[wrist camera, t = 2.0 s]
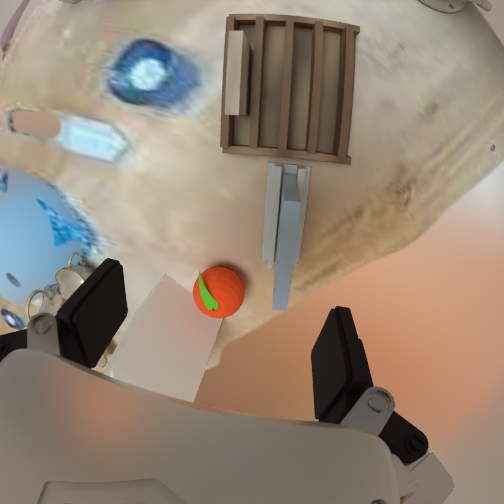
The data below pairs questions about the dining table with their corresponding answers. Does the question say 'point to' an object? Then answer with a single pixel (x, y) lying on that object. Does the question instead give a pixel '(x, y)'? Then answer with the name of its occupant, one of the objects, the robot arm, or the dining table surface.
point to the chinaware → (63, 292)
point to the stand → (273, 207)
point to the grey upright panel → (286, 240)
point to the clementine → (218, 292)
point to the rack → (288, 87)
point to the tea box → (70, 1)
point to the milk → (166, 343)
